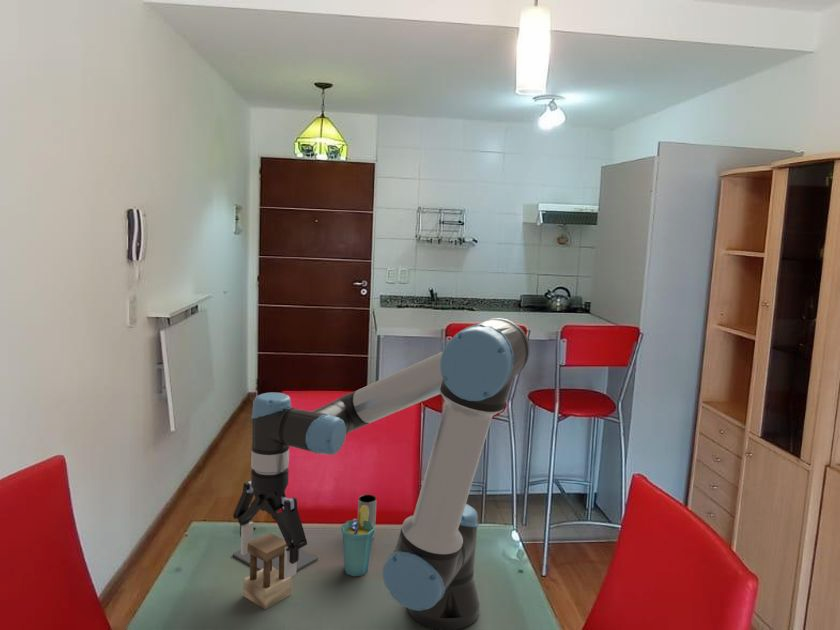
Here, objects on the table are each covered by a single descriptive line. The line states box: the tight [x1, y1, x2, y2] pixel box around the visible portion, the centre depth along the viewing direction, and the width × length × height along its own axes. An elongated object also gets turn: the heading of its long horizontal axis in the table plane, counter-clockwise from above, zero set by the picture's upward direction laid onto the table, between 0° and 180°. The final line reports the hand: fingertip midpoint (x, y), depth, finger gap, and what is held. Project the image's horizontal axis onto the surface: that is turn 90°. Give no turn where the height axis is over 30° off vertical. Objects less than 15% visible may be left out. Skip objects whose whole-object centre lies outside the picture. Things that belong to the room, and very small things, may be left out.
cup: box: [340, 505, 376, 577], centre depth 146 cm, size 14×8×15 cm, turn 176°
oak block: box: [242, 567, 292, 610], centre depth 136 cm, size 7×7×4 cm
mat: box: [232, 548, 319, 573], centre depth 151 cm, size 16×12×1 cm
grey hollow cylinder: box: [357, 494, 377, 540], centre depth 163 cm, size 4×4×10 cm
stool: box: [247, 532, 288, 588], centre depth 135 cm, size 6×6×8 cm
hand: (267, 563), depth 135 cm, fingers open, 13 cm apart
